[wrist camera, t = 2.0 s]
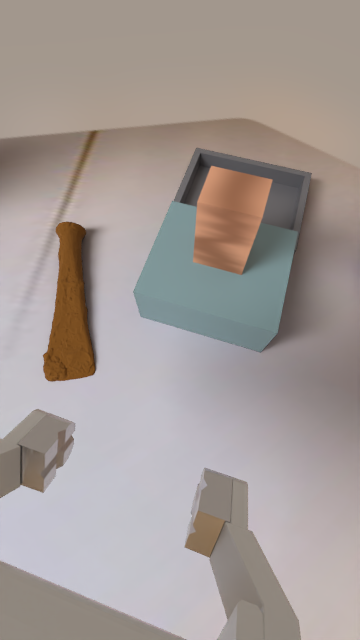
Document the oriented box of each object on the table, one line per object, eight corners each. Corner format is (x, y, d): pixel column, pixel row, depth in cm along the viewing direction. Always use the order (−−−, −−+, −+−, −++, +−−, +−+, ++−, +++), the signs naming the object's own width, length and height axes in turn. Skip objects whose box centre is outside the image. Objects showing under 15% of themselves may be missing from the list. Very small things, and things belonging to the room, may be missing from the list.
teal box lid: (140, 316, 34) (133, 291, 28) (173, 235, 38) (172, 200, 33) (260, 352, 32) (277, 333, 27) (280, 263, 37) (298, 231, 31)
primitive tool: (96, 376, 32) (86, 368, 28) (45, 384, 31) (29, 377, 28) (89, 233, 39) (81, 214, 36) (48, 239, 39) (35, 221, 36)
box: (167, 231, 39) (166, 217, 36) (195, 163, 43) (196, 147, 41) (288, 262, 37) (296, 250, 34) (304, 188, 42) (311, 173, 39)
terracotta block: (192, 262, 30) (197, 201, 22) (203, 231, 31) (211, 165, 24) (241, 275, 29) (262, 217, 22) (250, 243, 31) (272, 179, 23)
